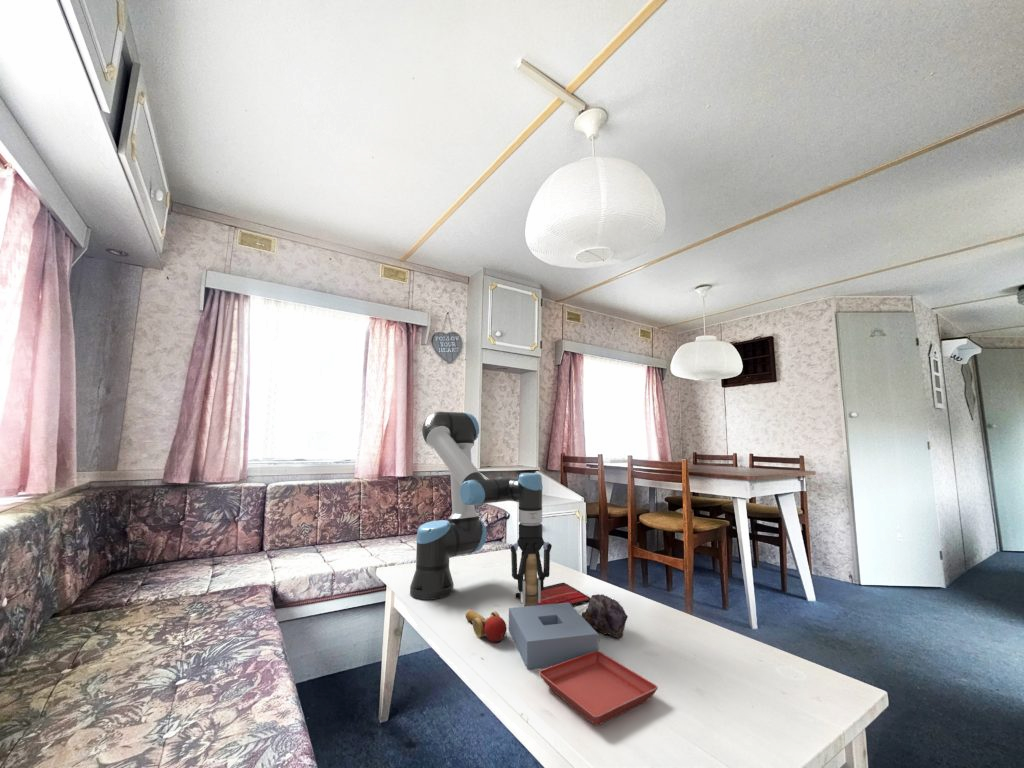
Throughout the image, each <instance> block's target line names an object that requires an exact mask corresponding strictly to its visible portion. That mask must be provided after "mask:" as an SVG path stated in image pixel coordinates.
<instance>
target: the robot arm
mask: <svg viewBox="0 0 1024 768" xmlns="http://www.w3.org/2000/svg"><path fill="white" fill-rule="evenodd" d="M421 433H422V438H423V440H424V442H425V443H426V444H427V446H428V448H432V449H434V451H435V452H436V453H437V454H438V456H439V458H440V459H441V461H442V462H443V463H444V465H445V466H446V467H447V468H448V470H449V474H450V486H451V488H450V490H451V491H450V492H451V510H452V513H451V515H450V516H449V517H448V520H444V519H439V520H432V521H429V522H425V523H423V524H421V525H419V527H418V529H417V532H416V533H417V534H416V539H415V541H416V551H415V553H416V558H415V559H416V560H415V570H414V571H415V572H414V575H413V578H412V580H411V582H410V586H409V588H410V589H409V594H410V596H411V597H412V598H415V599H418V600H438V599H442V598H446V597H448V596H450V595H452V594H453V593H454V589H455V588H454V587H455V586H454V580H453V577H452V573H451V571H450V558H453V557H458V556H462V555H467V554H473V553H476V552H478V551H481V550H482V548H483V547H484V545H485V544H486V540H487V527H486V525H485V522H484V521H483V520H482V519H480V514H479V513H477V512H476V510H475V506H479V505H484V504H485V505H486V504H491V503H492V504H493V503H501V502H509V501H510V502H517V503H518V522H519V524H518V539H517V541H516V543H513V544H512V543H511V544H509V546H508V547H509V549H510V554H511V555H510V557H511V577H512V578H513V579H514V580H517V590H518V593H519V592H521V598H520V602H521V603H522V605H524V604H525V580H524V572H525V567H526V562H527V558H528V554H536V558H537V594H538V595H537V602H538V603H541V590H543V588H544V587H545V586H544V583H545V582H544V581H545V579H546V578H549V577H550V566H551V565H550V563H551V554H550V553H551V550H552V547H553V546H552V544H551V543H550V542H549V541H544V538H543V524H542V523H543V478H542V475H541V474H540V473H538V472H537V473H536V472H523V473H522V472H521V473H519V475H518V478H516V477H510V476H499V477H497V478H485V477H484V476H483V475H482V473H481V472H480V471H479V469H477V467H476V466H475V464H474V463H473V462H472V451H471V450H472V448H473V447H474V445H475V441H476V440H477V439H478V438H479V435H480V426H479V422H478V419H477V418H476V417H475V416H474V415H473V414H471V413H467V412H463V411H462V412H460V411H458V412H455V411H450V412H449V411H435V412H433V413H431V414H429V415H428V416H427V417H426V419H424V421H423V424H422V427H421ZM542 548H543V565H542V560H541V554H540V551H541V550H542ZM518 549H520V550H521V555H520V556H521V557H520V562H519V567H518V558H517V557H518V554H517V552H518Z"/></svg>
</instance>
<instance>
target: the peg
mask: <svg viewBox="0 0 1024 768" xmlns="http://www.w3.org/2000/svg"><path fill="white" fill-rule="evenodd" d="M537 577H538V573H537V558H536V554H528V558H527V562H526V567H525V572H524V577H523V579H524V580H525V604H523V605H524V606H535V605H537V595H538V594H537ZM524 606H523V607H524Z"/></svg>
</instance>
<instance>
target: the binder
mask: <svg viewBox="0 0 1024 768" xmlns="http://www.w3.org/2000/svg"><path fill="white" fill-rule="evenodd" d="M515 599H521V592H519V591H518V592H516V593H515ZM590 599H591V596H588V595H587V594H585V593H584V592H581V591H580V590H579V589H577V588H575V587H573V586H571V585H570V584H567V583H566V582H559V583H555V584H552V585H547V586H546V585H545V586H544V588H543V590H541V603H538V602H537V605H546V604H557V603H568V602H569V603H570V604H571V605H573V606H576V605H580V603H581V604H587V603H588V604H589V602H590Z"/></svg>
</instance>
